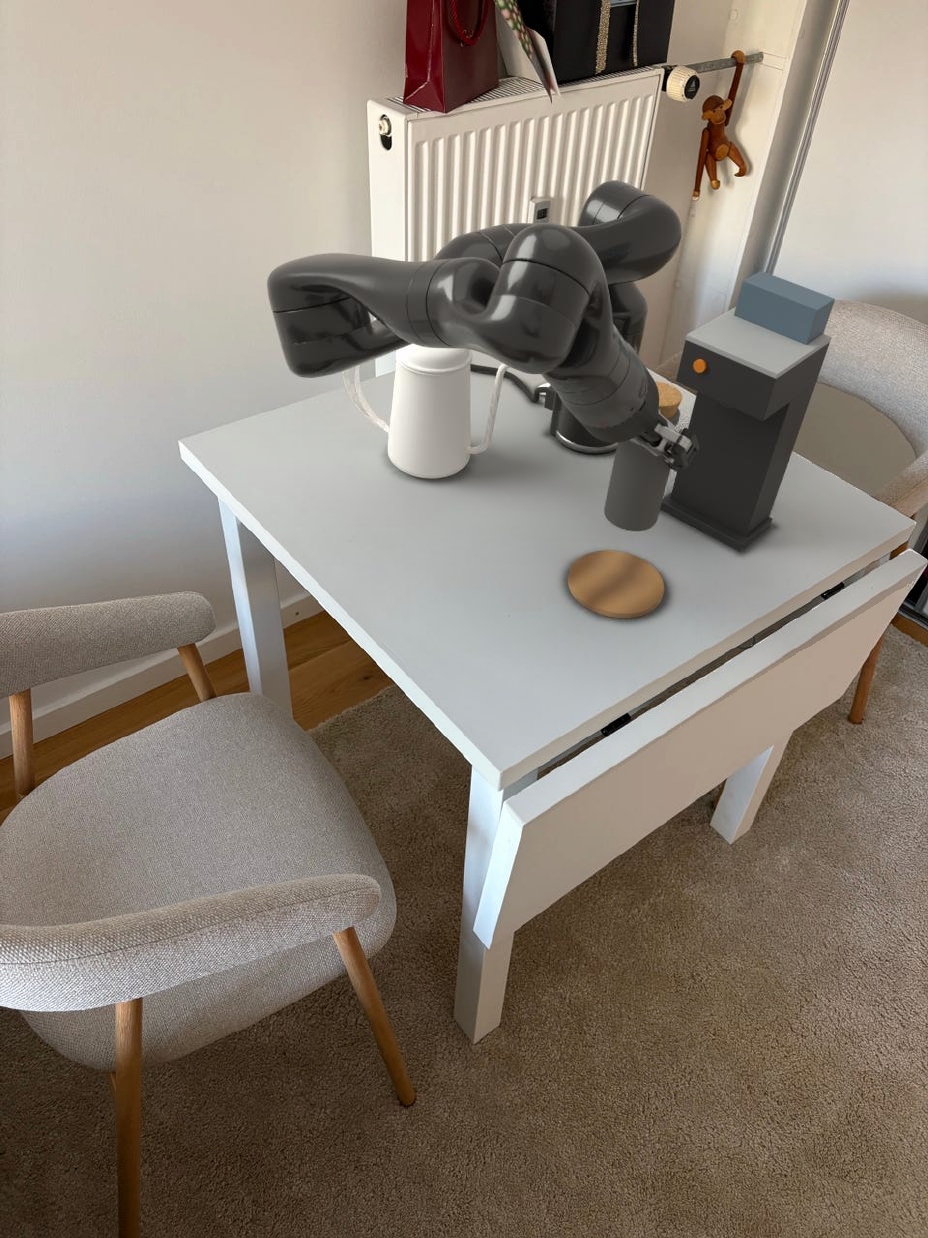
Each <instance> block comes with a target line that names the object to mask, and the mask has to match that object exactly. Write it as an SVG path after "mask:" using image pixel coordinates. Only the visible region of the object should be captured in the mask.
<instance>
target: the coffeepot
mask: <svg viewBox="0 0 928 1238" xmlns="http://www.w3.org/2000/svg"><path fill="white" fill-rule="evenodd" d="M393 353H395V374H394V383H393V390H392V391H393V392H392V402H391V411H390V412H391V413H390V421H389V425H388V424H387V423H386V421H384V420H382V419H381V418H380V417H379V416H378V415H377V414H376V413H375V412H374V410H373V409H372V408H371V407H370V405H369V403H368V401H367V400H366V398H365V396H364V393H363V391H362V387H361V382H360V381H361V380H360V373H361V372H360V370H361V365H359V366H356V367H355V370H354V378H353V379H354V380H353V381H354V382H353V383H354V388H353V386H352V383H351V381H350V378H349V372H348V370H345V371H342V372H341V375H342V380H343V384H344V387H345V390H346V392H347V394H348V397H349V398H350V400H351V401H352V403H353V404H354V406H355V407H356V408H357V409H358V410H359V412H360V413H361V415H363V416H364V417H365V418H366V419H367V420H369V421H370V422H371V423H372V424H373V425H375V426H376V427H377V428H379V429H381V430H382V431H384V432H385V433H386V434H387V436H388V437H387V455H388V458H389V460H390V462H391V463H392V464H393V466H395V467H396V468H397V469H398V470H400V471H401V472H402V473H405V474H407V475H409V476H413V477H417V478H419V479H420V478H421V479H442V478H446V477H449V476H453V475H455V474H457V473H458V472H460V471H461V470H463V469H464V468H465V467H466V466H467V465H468V463H469V461H470V458H471V455H478V454H481V453H482V452H484V451H485V450H486V449H487V448H488V447H489V445H490V443H491V441H492V436H493V432H494V427H495V421H496V416H497V410H498V406H499V401H500V395H501V389H502V384H503V380H504V377H505V376H504V373H505V371H508V369H509V368H510V367H509V366H507V365H505V364H503V363H501V364H500V366H499V367H498V371H497V374H495V375H496V376H495V380H494V385H493V390H492V396H491V401H490V406H489V412H488V417H487V423H486V427H485V433H484V437H483V440H482V442H481V443H480V444H479V445H478V446H471V443H472V442H471V440H472V439H471V435H472V434H471V369H470V364H472V362H473V350H470V349H465V348H460V349H458V348H427V347H422V346H418V345H415V344H412V345H409V346H406V347H404V348H401V349H399V350H397V351H394V352H393ZM354 389H355V390H354Z"/></svg>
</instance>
